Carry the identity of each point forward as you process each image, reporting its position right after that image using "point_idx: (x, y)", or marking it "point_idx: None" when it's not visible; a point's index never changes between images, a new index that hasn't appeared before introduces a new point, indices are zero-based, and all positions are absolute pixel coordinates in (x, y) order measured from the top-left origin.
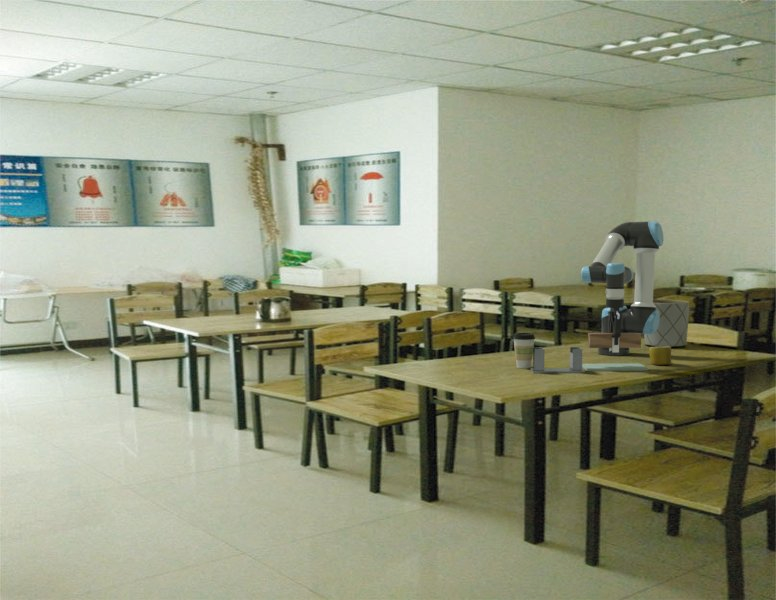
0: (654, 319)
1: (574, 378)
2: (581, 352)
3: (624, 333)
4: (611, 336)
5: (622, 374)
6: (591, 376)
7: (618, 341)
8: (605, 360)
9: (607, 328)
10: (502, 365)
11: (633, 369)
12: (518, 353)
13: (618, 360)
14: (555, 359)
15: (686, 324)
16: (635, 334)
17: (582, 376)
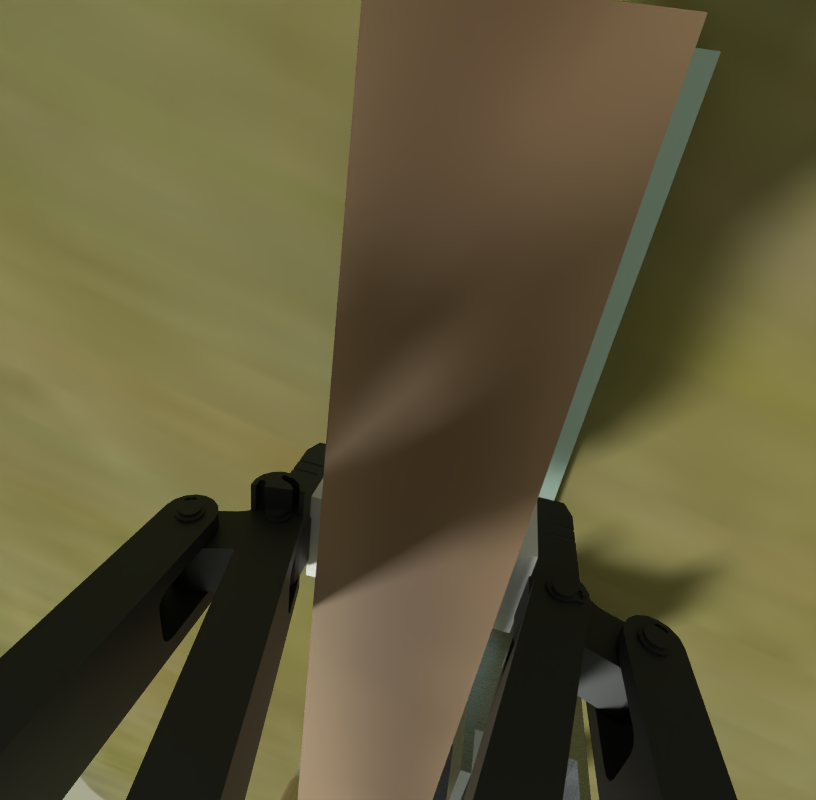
0: None
1: (755, 740)
2: (586, 780)
3: (423, 451)
4: (502, 665)
5: (787, 430)
6: (743, 645)
7: (534, 517)
8: (87, 249)
9: None
10: (285, 783)
11: (647, 239)
12: None
13: (69, 122)
14: (96, 542)
15: None
16: (624, 234)
17: (714, 682)
